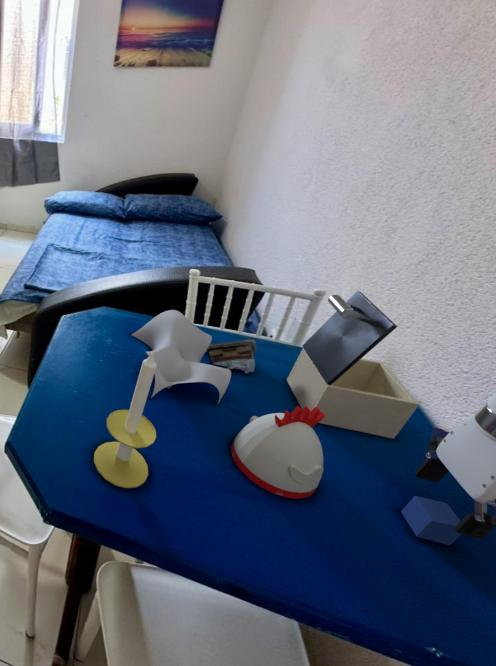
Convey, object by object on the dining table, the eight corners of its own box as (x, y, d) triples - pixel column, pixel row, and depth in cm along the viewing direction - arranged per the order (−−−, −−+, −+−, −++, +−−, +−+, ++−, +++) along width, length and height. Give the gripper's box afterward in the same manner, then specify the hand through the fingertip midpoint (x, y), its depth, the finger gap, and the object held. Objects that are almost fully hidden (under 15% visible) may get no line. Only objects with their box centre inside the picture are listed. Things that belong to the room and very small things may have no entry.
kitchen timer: (334, 499, 72) (376, 440, 65) (258, 498, 71) (292, 439, 64) (283, 435, 84) (313, 380, 77) (217, 435, 84) (242, 379, 76)
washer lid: (361, 292, 86) (330, 279, 86) (398, 326, 74) (362, 311, 75) (305, 347, 94) (277, 335, 95) (330, 385, 83) (299, 372, 84)
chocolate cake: (203, 368, 103) (254, 354, 95) (200, 346, 108) (248, 330, 100) (223, 387, 106) (274, 374, 99) (219, 364, 111) (267, 351, 103)
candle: (151, 454, 79) (189, 343, 66) (144, 497, 71) (186, 380, 58) (99, 435, 83) (126, 326, 70) (88, 474, 75) (115, 358, 62)
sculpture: (233, 407, 91) (248, 374, 86) (146, 397, 93) (156, 364, 88) (197, 341, 112) (207, 311, 108) (127, 334, 114) (134, 305, 110)
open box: (361, 394, 96) (382, 361, 91) (394, 438, 84) (419, 404, 80) (286, 379, 99) (302, 347, 95) (308, 420, 88) (327, 386, 83)
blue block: (432, 519, 69) (447, 503, 67) (450, 545, 65) (467, 529, 63) (400, 511, 70) (414, 495, 68) (416, 537, 66) (431, 520, 64)
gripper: (617, 491, 48) (519, 568, 56) (501, 393, 63) (437, 466, 71) (537, 473, 50) (453, 551, 58) (442, 382, 65) (386, 454, 73)
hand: (444, 504), depth 65 cm, fingers open, 9 cm apart
